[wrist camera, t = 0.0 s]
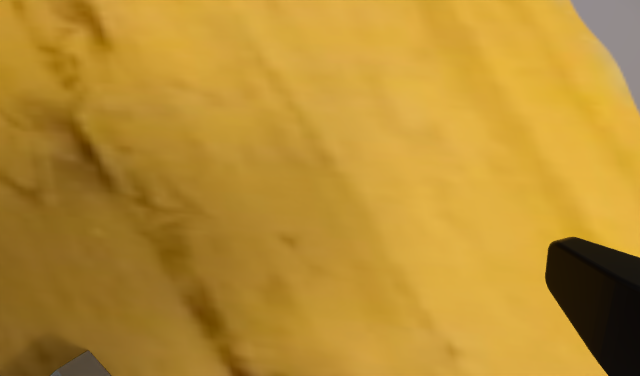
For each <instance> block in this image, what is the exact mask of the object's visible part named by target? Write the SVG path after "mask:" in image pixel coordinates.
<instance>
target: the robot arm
mask: <svg viewBox="0 0 640 376" xmlns="http://www.w3.org/2000/svg"><path fill="white" fill-rule="evenodd" d="M545 280H546V284H547V287H548V289H549V290H550V292H551V294H552V295H553V297H554V298H555V300H556V301H557V303H558V304H559V306H560V307H561V309H562V310H563V312H564V313H565V315H566V316H567V318H568V319H569V320H570V322H571V323H572V325H573V326H574V328H575V329H576V331H577V332H578V334H579V335H580V337H581V338H582V340H583V341H584V343H585V344H586V346H587V347H588V349H589V350H590V352H591V353H592V355H593V356H594V357H595V359H596V360H597V362H598V363H599V364H600V365H601V367H602V368H603V369H604V371H605V372H606V373H607V374H608V376H640V258H639V257H636V256H633V255H630V254H627V253H624V252H620V251H617V250H614V249H611V248H608V247H605V246H602V245H599V244H595V243H592V242H589V241H586V240H583V239H580V238H577V237H568V238H564V239H560V240H557V241H553V242H552V243H551V244H550V245H549V248H548V255H547V264H546V273H545Z"/></svg>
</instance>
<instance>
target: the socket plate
mask: <svg viewBox="0 0 640 376" xmlns="http://www.w3.org/2000/svg"><path fill="white" fill-rule="evenodd" d="M50 376H111V375H110V374H109V373H108V372H107V371H106V369H105V368H104V367H103V366H102V365H101V364H100V363H99V362H98V360H97V359H96V358H95V357H94V356H93V355H92V354H91V353H90V351H89V350H88V351H86V352H85V353H83V354H81V355H80V356H78V357H76V358H75V359H73V360H72V361H70V362H68V363H67V364H65V365H64V366H62V367H60V368H59V369H57V370H56V371H55V372H54V373H52V374H51V375H50Z"/></svg>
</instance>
